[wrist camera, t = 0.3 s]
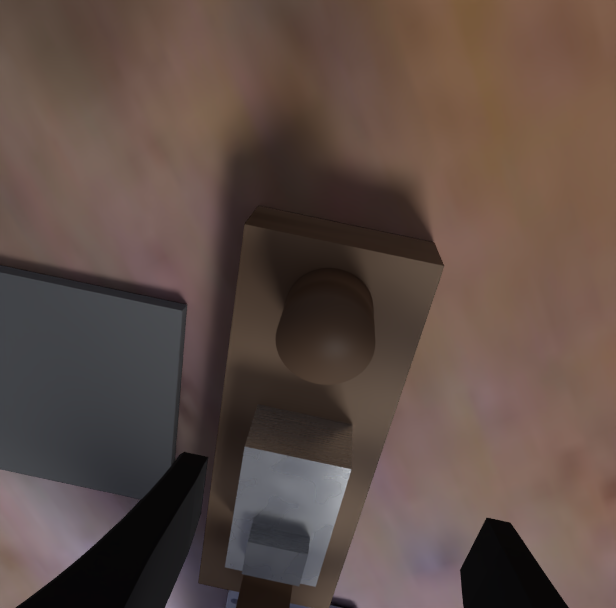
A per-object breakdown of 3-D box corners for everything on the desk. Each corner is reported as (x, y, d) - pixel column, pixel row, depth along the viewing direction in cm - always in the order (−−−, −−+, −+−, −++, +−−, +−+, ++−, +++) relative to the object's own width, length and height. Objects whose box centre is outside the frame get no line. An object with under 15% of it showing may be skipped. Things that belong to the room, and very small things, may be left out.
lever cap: (319, 536, 23) (313, 605, 20) (238, 518, 23) (219, 585, 20) (352, 424, 20) (351, 486, 17) (257, 404, 20) (239, 462, 17)
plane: (330, 567, 28) (323, 675, 23) (211, 541, 28) (179, 643, 23) (434, 242, 19) (460, 304, 14) (258, 205, 19) (221, 253, 14)
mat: (171, 496, 26) (168, 505, 26) (-41, 450, 26) (-50, 458, 26) (187, 304, 21) (182, 310, 20) (-80, 248, 21) (-92, 252, 21)
